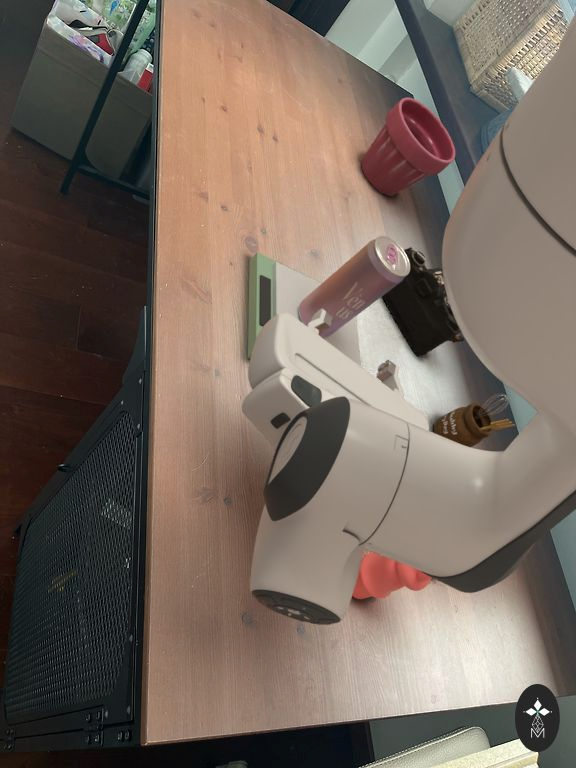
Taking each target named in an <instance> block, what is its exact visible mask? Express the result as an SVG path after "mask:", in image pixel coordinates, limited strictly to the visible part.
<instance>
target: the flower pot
mask: <svg viewBox="0 0 576 768" xmlns="http://www.w3.org/2000/svg"><path fill="white" fill-rule="evenodd" d="M455 158H456V148H455V145H454V141H453V139H452V137H451V136H450V134H449V132H448V130H447V128H446V127H445V125H443V122H441V120H440V119H439V118H438V117H437V115H436V114H435V113H434V112H433V111H432V110H431V109H430V108H429V107H427V106H426V105H425V104H424V103H422V101H421V102H420V101H419V100H418V99H415V98H412V97H403V98H401V100H399V101H398V102H397V103H395V105H394V106H393V107H391V108H390V110H389V111H388V112H387V113H386V115H385V123H384V125H383V127H382V128H381V129H380V130H379V132H378V134H377V135H376V137H375V139H374V140H373V142H372V143H371V144H370V146H369V148H368V149H367V151H366V153H365V154H364V156H363V157H362V159H361V162H360V163H361V170H362V173H363V174H364V176H365V178H366V179H367V181H368V182H369V184H370V185H372V187H373V188H375V190H376V191H378V192H380V193H381V194H383V195H385V196H390V197H391V196H395V195H396V194H398V193H400V192H402V191H403V190H405V189H408V188H409V187H411V186H413V185H415V184H416V183H418V182H421V180H423V179H425V178H426V177H428V176H437V175H439V174H440V173H442V171H444V170H445V169H446V168H447V167H448V166H449V165H450V164H452V162H454V160H455Z"/></svg>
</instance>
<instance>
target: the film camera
mask: <svg viewBox="0 0 576 768" xmlns="http://www.w3.org/2000/svg"><path fill="white" fill-rule="evenodd" d="M403 250H404V252H405V253H406V255H407V257H408V259H409V262H410V272H409V274H408V275H407V276H405V278H404V279H403V281H401V282H400V283H399V284H397V285H396V286H395V287H394V288H392V289H391V290H390V291H388V292H387V293H386V294H384V295H383V296H382V297H381V298H382V299H383V301H384V302H385V304H386V307H388V310H389V312H390V313H391V314H392V317H393V319H394V320H395V322H396V323H397V326H398V327H399V329H400V330H401V332H402V333H403V336H404V338H405V339H406V341H407V343H408V344H409V346H410V348H411V349H412V351H413V352H414V353H415V355H416V356H417V357H423V356H426V355H427V354H429V353H430V352H432V351H433V350H434V349H436V348H438V347H440V346H442V345H443V344H444V343H446V342H452V343H453V344H454V343H459V342H464V341H465V337H464V336H463V335H462V336H461V335H460V333H462V332H461V330H460V328H459V326H458V324H457V322H456V320H455V317H454V315H453V312H452V310H451V307H450V304H449V301H448V297H447V294H446V290H445V286H444V280H443V270H442V267H441V268H440V267H436V268H427V266H426V258H425V257H426V256H425V254H424V253H423V252H421V251H419V250H417V251H416V250H415V249H414V248H413V247H411V246H410V247H408V248H405V249H403Z"/></svg>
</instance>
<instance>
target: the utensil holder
mask: <svg viewBox="0 0 576 768" xmlns="http://www.w3.org/2000/svg"><path fill="white" fill-rule="evenodd" d="M502 396H503V398H501V399H499V400H498V401H496V402H495V403H493V404H492V405H490V406H489V407H487V408H486V406H484V405H487V403H488V402H490V403H492V402H493V401H494V400H496V399H498V398H499V397H502ZM504 401H507V403H506V402H504ZM498 402H499V403H498ZM502 402H504V403H503V404H502V405H501V406H500V407H498V408H497V409H495V410H494V411H493V412H489V411H490V410H491V409H493V408H495V407H496V406H498V405H499V404H500V403H502ZM495 404H496V405H495ZM508 404H509V398H508V396H507V395H505V394H504V393H502V394H498V393H496V394H494V395H493V396H490V398H488V399H487V400H486V401H485V403H483V404H480V403H478V402H473V403H470V404H468V405H466V406H461V407H457V408H455V409H453V410H451V411H449V412H447V413H445V414H444V415H441V416H440V417H438V418H437V419H436V420H435V421H434V423H433V426H432V430H433V431H432V432H433V433H435V434H438V435H440V436H442V437H445V438H447V439H449V440H452V441H454V442H457V443H459V444H462V445H464V446H468V447H471V448H473V447H475V446H476V445H478V444H480V443H481V442H482V441H483V439H487V438H488V437H489V436H491V435H492V434H493V433H494V430H497V431H500V430H503V429H507V428H511V427H515V426H516V424H515V423H513V422H512V421H509V420H510V419H508V418H505V419H501V420H496V421H493V420H494V419H493V418H492V415H493V414H495V415H496V414H499V413H500V412H502V411H503V410H504V409H506V408H507V406H508ZM494 405H495V406H494ZM492 406H493V407H492Z"/></svg>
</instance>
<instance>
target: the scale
mask: <svg viewBox="0 0 576 768" xmlns="http://www.w3.org/2000/svg"><path fill="white" fill-rule="evenodd" d="M248 266H249V269H248V270H249V271H248V313H247V315H248V316H247V355H246V356H247V359H249V360H250V359H251V355H252V351H253V348H254V344H255V341H256V338H257V336H258V333H259V331H260V330H261V328H262V327H263V326H264V325H265V324H266V323H267V322H268V321H269V320H271V319H272V318H273V317H274V316H276V315H278V314H281V313H286V312H287V313H290V314H291V315H293V316H294V317H295V318H296V319H298V320H299V321H300V322H301V320H300V317H299V307H300V304H301V302H302V300H303V299H305V298H306V297H307V296H308V295H309V294H310V293H311V292H313V291H314V290H315V289H316V288H317V287H318V286H320V285H321V284H322V283H323V282H322V281H321V282H320V281H318V280H316V279H314V278H312V277H311V276H308V275H306V274H303V273H302V272H300V271H297V270H296V269H294V268H291V267H290V266H288V265H285V264H283V263H281V262H279V261H277V260H275V259H273V258H270V257H268V256H266V255H265V254H262V253H260V252H256V253H255V254H253V256H252V257H251V258H250V259H249V264H248ZM357 320H358V319H357V316H356V317H354V318H353V319H352V320H350V321H349V322H348V323H346V324H345V325H344V326H342V327H341V328H340V329H338V330H337V331H336V332H335V333H333V334H332V335H330V336H328V337H322V338H323V339H325V340H326V341H327V342H329V343H330V344H331V345H333V346H334V347H335V348H337V349H338V350H339V351H341V352H342V353H343V354H345V355H346V356H347V357H349V358H350V359H351V360H353V361H354V362H355V363H357V364H358V365H359V366H361V367H362V364H361V362H362V361H361V352H360V340H359V331H358V321H357Z"/></svg>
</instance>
